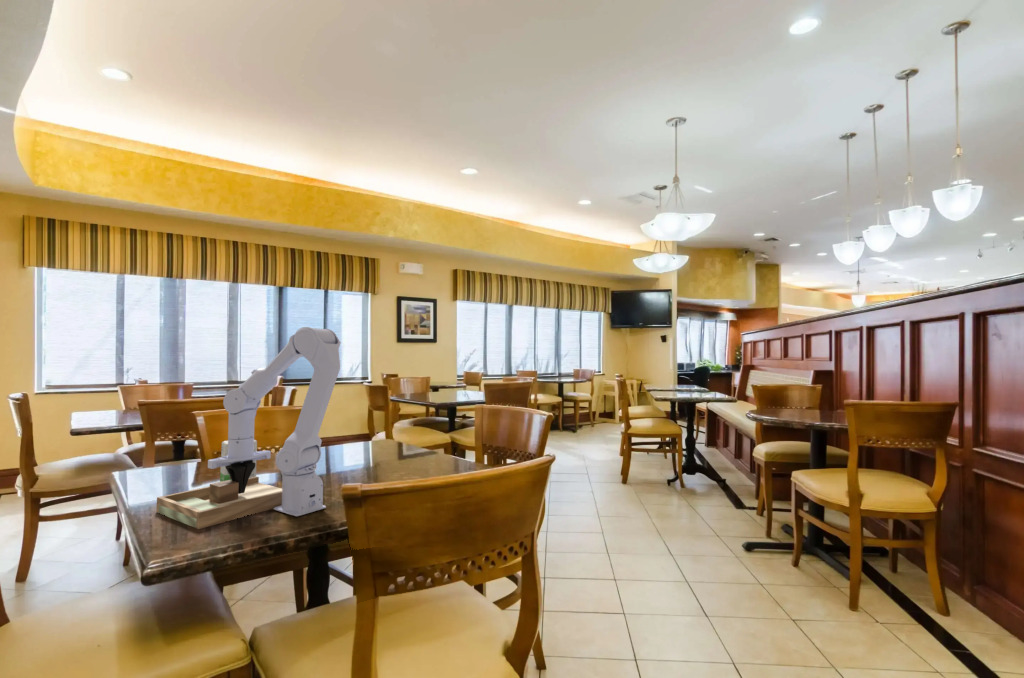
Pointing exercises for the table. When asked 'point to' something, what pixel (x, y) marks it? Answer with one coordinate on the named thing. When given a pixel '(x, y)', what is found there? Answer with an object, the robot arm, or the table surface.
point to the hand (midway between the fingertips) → (239, 492)
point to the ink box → (224, 452)
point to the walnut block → (224, 491)
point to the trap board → (206, 513)
